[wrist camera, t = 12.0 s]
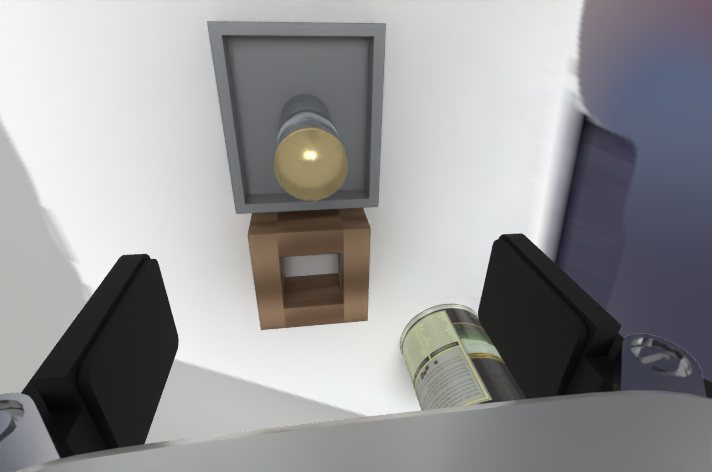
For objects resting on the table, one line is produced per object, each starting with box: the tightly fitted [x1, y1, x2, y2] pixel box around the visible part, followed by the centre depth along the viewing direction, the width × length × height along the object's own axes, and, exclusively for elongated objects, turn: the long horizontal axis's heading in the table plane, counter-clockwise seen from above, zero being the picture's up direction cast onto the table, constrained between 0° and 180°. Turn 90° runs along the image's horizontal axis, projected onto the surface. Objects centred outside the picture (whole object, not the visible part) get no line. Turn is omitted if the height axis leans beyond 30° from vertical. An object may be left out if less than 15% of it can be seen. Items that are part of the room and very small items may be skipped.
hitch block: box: [248, 208, 370, 330], centre depth 36 cm, size 10×10×5 cm
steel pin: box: [274, 94, 348, 201], centre depth 26 cm, size 4×4×12 cm
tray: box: [207, 21, 386, 214], centre depth 31 cm, size 14×12×3 cm
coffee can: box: [400, 304, 527, 410], centre depth 41 cm, size 10×10×14 cm
